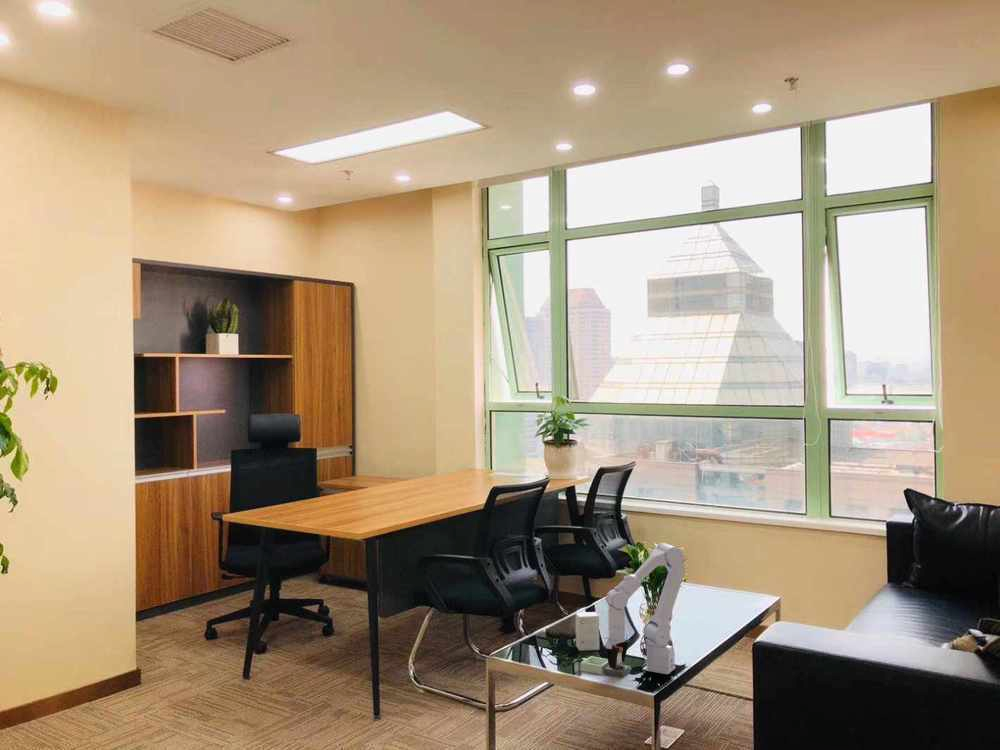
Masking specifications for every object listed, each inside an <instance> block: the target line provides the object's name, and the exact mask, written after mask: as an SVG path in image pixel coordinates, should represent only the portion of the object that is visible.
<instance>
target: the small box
mask: <svg viewBox="0 0 1000 750" xmlns="http://www.w3.org/2000/svg"><path fill="white" fill-rule="evenodd" d="M575 646H576V648H577V649H578V651H599V650H600V616H599V615H598V613H597V612H596V611H589V612H588V611H584V612H582V611H581V612H575Z"/></svg>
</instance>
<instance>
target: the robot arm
mask: <svg viewBox="0 0 1000 750" xmlns="http://www.w3.org/2000/svg"><path fill="white" fill-rule="evenodd" d="M685 557H686V556H685V555H684V552H683V551H682V549H680V547H677V546H674V545H671V544H669V543H667V542H661V543H659V544H658V545H657V546H656V548H654V549H652V552H651V553H650V555H649V556H648V558H647V559H645V560H644V562H643V563H642V564H641V565H640V566H639V568H637V570H636V571H635V572H634V573H632V574H631V573H630V574H628V575H625V576H623V580H622V581H621V582H620V583H619V584H618V585H615V586H614V589H611V590H609V591H608V592H607V593H606V594H607V595H606V597H604V598H605V602H606V604H607V605H608V606H607V607H608V611H607V612H608V613H607V614H608V616H607V617H608V621H607V622H608V635H606V636H605V639H606V640H607V641H605V645H604V646H602V650H603V651H604V654H605V655H606V659H608V663H609V667H612V668H616V663H617V656H618V652H619V650H620V649H618V648H615V646H622V647H623V651H622V663H625V660H626V656H627V652H628V648H629V646H630V644H631V640H629V639H628V633H627V632H626V618H625V617H626V616H625V615H626V613H625V609H626V608H625V607H627V605H628V601H629V599H630V598H631V597H632V596H633V595H634V594H635V593H636V592H637V591H638V590H639V589H640V588H641V586H642V581H643V580H644V579H645V578H646V577H647V576H649V574H651V573H652V572H653V571H654V570H655V569H656V568H657V567H663V566H664V567H665V568H666V570H667V575H666V578H665V581H664V585H663V587H662V590H661V594H660V596H659V600H658V602H657V606H656V607H655V610H654V613H653V614H652V615H651V616H650V617H649V619H648V621H647V623H646V624H645V625H644V626H643V635H644V637H645V638H646V641H645V642H646V665H645V666H644V667H643V668H642V671H647V672H651V673H652V672H653V673H657V674H665V675H670V674H671V673H672V672H673V671H675V669H676V663H675V657H676V655H675V647H674V646H673V645H670V644H669V642H670V640H671V629H672V626H671V622H670V618H671V615H672V613H673V609H674V606H675V604H676V599H677V598H678V594H679V591H680V588H681V584H682V583H683V579H684V576H685V573H686V571H685V562H684V560H685Z"/></svg>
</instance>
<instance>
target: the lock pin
mask: <svg viewBox="0 0 1000 750" xmlns="http://www.w3.org/2000/svg"><path fill="white" fill-rule="evenodd" d="M615 648H618V649H620V650H619V652H618V656H617V663H616V668H613V669H618V670H621V669H622V665H623V662H622V651H623V647H622V646H616V645H615Z"/></svg>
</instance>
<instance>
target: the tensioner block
mask: <svg viewBox="0 0 1000 750" xmlns="http://www.w3.org/2000/svg"><path fill="white" fill-rule="evenodd" d="M629 673H631V665H625V664H622V669H621V670H618V669H613V668H612V667H609V665H608V666H607V667H605V668H604V673H603V675H606V676H612V677H615V678H616V677H617V678H624V677H626V676H627V675H628V674H629Z"/></svg>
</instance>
